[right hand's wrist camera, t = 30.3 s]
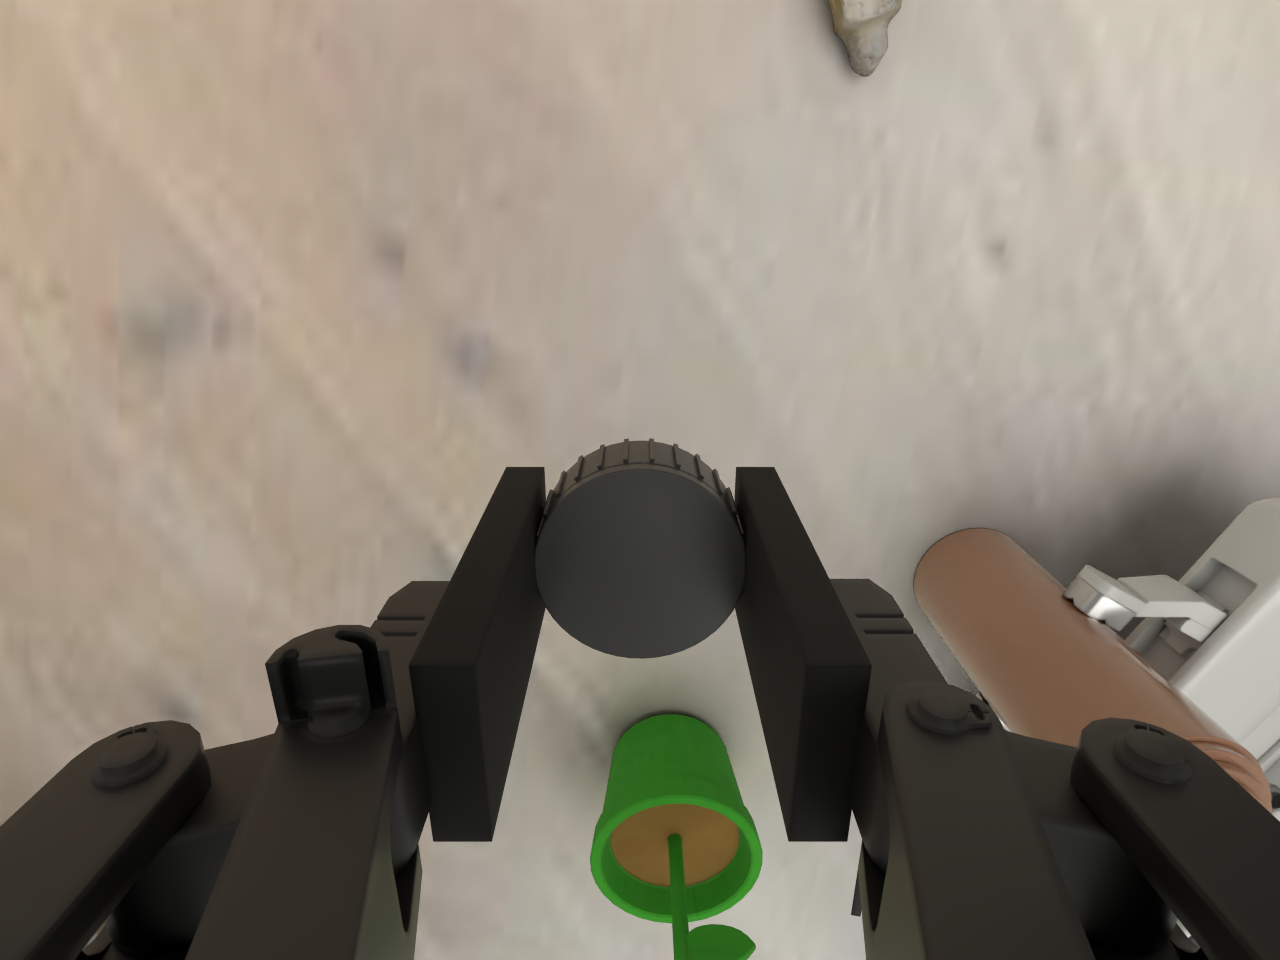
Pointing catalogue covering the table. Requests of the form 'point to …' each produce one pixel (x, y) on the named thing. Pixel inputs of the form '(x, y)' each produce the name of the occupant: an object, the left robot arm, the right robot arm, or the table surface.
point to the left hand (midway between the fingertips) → (1024, 653)
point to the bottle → (1054, 653)
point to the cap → (640, 550)
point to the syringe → (863, 30)
